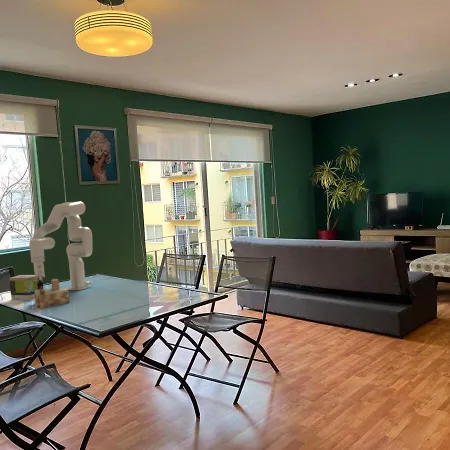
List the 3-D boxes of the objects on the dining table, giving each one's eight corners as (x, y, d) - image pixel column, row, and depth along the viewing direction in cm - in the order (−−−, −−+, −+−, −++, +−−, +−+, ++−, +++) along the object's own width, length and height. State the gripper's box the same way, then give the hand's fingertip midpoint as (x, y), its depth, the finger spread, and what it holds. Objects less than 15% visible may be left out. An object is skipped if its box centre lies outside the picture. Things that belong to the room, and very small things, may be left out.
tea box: (41, 297, 290) (39, 274, 289) (29, 301, 281) (27, 277, 279) (22, 296, 295) (20, 274, 294) (10, 300, 286) (8, 277, 284)
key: (43, 290, 269) (42, 285, 269) (45, 293, 260) (44, 288, 260) (39, 291, 268) (39, 286, 268) (41, 294, 259) (40, 289, 259)
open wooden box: (66, 298, 281) (65, 286, 280) (70, 303, 267) (69, 290, 266) (35, 303, 273) (34, 290, 272) (38, 309, 259) (36, 295, 258)
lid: (65, 290, 280) (64, 276, 280) (68, 293, 270) (67, 279, 270) (35, 294, 272) (33, 280, 272) (36, 298, 262) (35, 284, 261)
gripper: (45, 259, 266) (48, 290, 268) (43, 257, 279) (45, 286, 281) (32, 261, 263) (35, 292, 264) (30, 258, 276) (32, 287, 277)
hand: (40, 289), depth 273 cm, fingers closed
